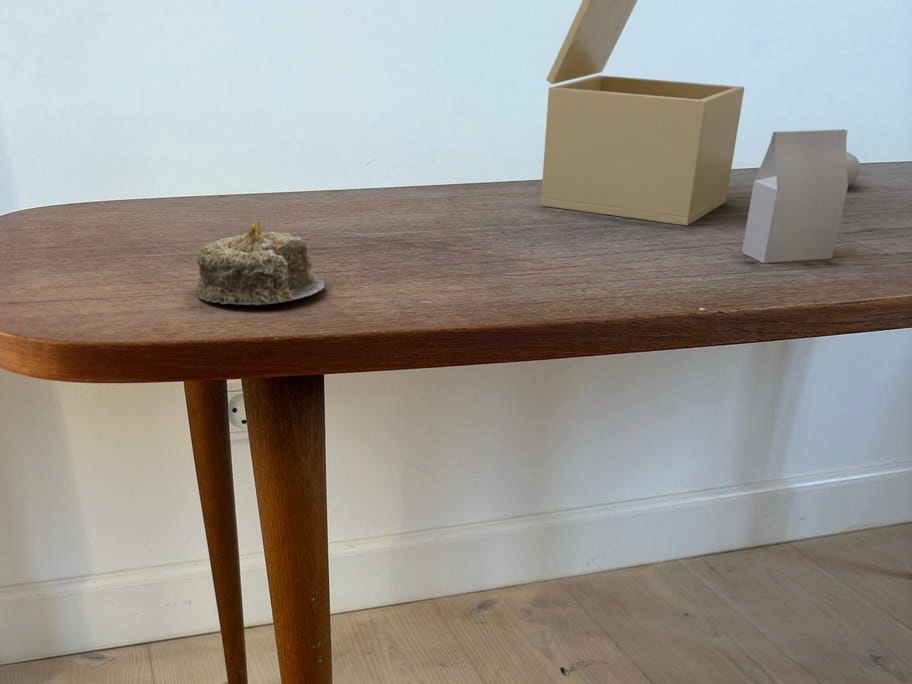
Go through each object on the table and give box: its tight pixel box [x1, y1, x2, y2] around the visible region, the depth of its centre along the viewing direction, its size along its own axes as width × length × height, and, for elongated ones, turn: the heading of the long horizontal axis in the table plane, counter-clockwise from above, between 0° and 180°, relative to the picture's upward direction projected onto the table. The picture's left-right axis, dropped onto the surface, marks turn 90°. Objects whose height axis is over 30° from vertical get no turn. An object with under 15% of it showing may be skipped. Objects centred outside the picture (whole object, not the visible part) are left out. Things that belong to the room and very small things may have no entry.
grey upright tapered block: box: [741, 128, 849, 264], centre depth 90 cm, size 4×7×10 cm, turn 106°
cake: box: [195, 220, 326, 306], centre depth 80 cm, size 10×10×5 cm
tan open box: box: [540, 74, 745, 226], centre depth 106 cm, size 16×13×11 cm
